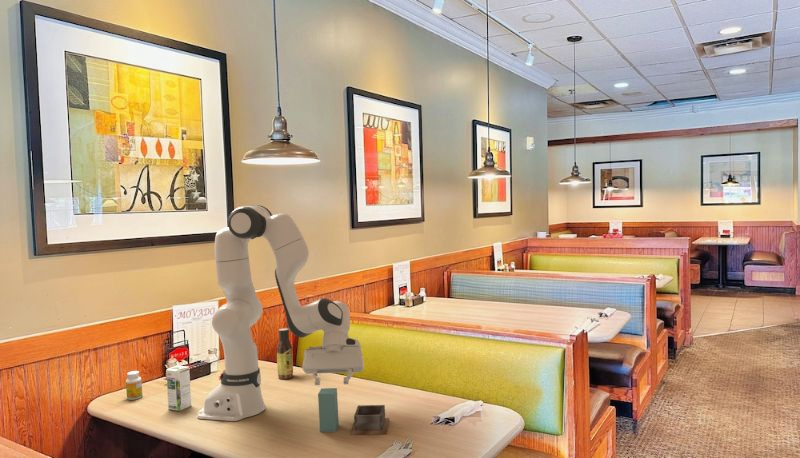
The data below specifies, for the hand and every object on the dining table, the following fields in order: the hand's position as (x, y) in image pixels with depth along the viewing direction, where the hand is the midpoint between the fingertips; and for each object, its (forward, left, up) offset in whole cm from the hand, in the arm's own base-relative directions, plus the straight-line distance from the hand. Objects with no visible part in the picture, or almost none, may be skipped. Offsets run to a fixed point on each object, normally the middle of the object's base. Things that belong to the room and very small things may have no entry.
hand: (331, 384), depth 177 cm
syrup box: (-58, +14, -12) cm, 61 cm away
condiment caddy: (+13, -6, -12) cm, 19 cm away
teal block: (0, -6, -12) cm, 13 cm away
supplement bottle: (-81, +25, -12) cm, 86 cm away
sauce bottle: (-28, +45, -12) cm, 55 cm away
